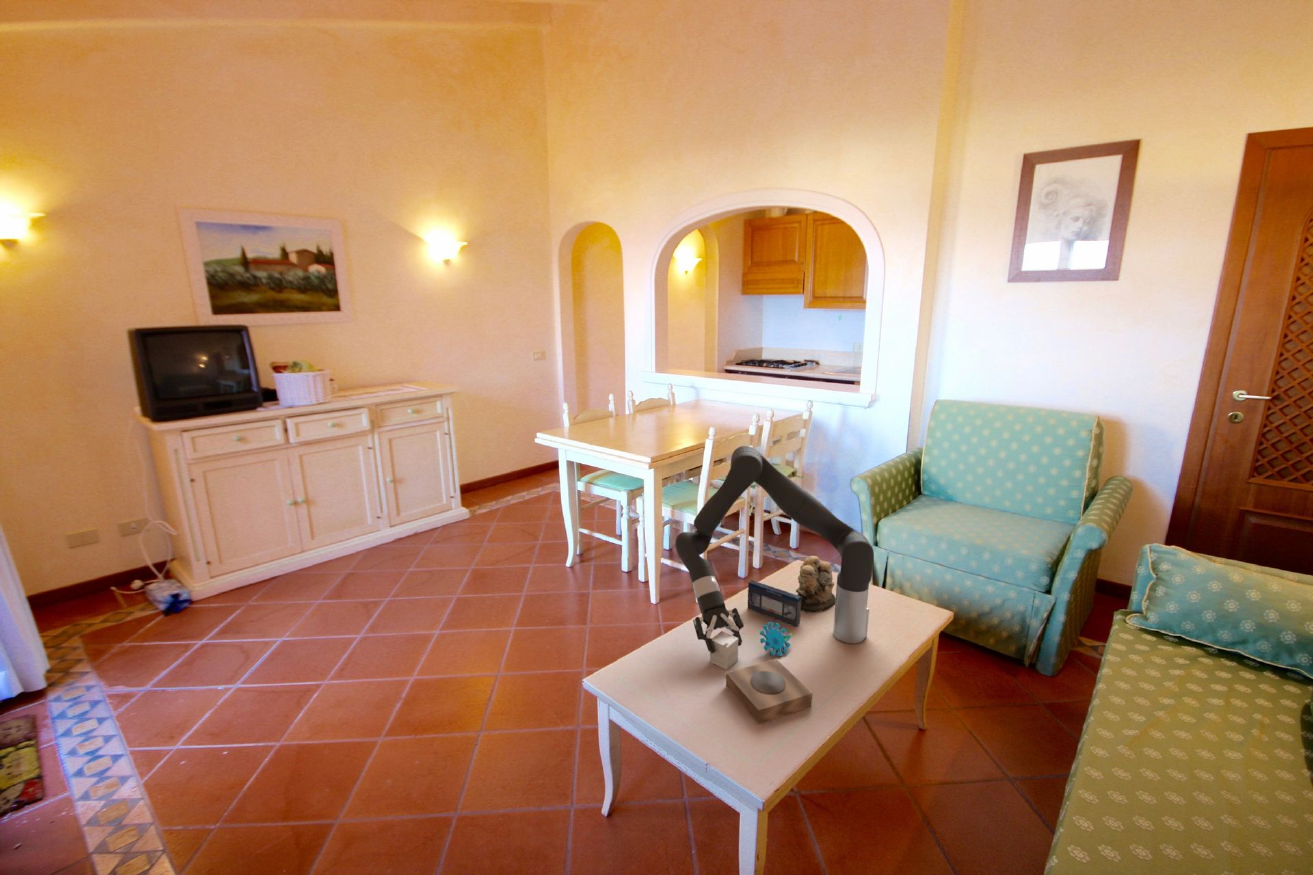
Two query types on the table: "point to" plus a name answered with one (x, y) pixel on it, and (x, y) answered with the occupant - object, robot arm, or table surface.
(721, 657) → the skincare box
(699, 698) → the table surface
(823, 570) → the owl figurine
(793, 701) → the platform
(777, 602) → the vhs cassette tape
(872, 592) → the table surface
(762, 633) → the gear
